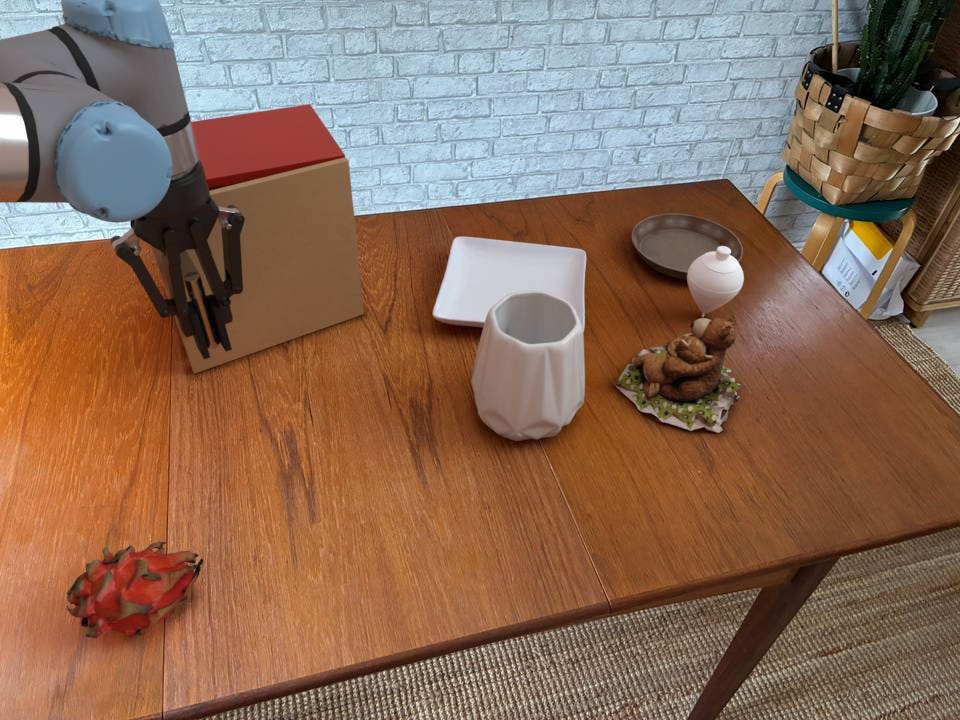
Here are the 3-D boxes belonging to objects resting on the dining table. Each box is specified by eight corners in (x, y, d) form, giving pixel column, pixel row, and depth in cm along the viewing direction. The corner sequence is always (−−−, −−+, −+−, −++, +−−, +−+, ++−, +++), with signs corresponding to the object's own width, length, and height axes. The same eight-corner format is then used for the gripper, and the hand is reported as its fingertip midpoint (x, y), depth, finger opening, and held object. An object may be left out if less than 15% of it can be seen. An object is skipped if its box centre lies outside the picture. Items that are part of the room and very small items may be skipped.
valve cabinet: (361, 310, 103) (345, 154, 86) (187, 354, 95) (132, 192, 78) (329, 252, 113) (310, 103, 96) (170, 287, 105) (119, 132, 88)
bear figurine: (642, 340, 100) (660, 270, 91) (747, 381, 94) (776, 311, 86) (603, 399, 91) (619, 327, 83) (716, 447, 86) (745, 376, 77)
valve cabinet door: (384, 339, 98) (372, 183, 82) (209, 404, 88) (155, 241, 71) (361, 310, 102) (345, 156, 86) (192, 369, 92) (137, 208, 76)
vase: (509, 356, 96) (516, 265, 86) (600, 400, 91) (620, 309, 80) (447, 416, 88) (447, 323, 78) (543, 470, 82) (557, 377, 72)
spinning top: (712, 297, 108) (734, 230, 100) (738, 329, 102) (764, 261, 94) (667, 305, 106) (685, 237, 98) (692, 337, 101) (713, 269, 92)
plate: (584, 264, 113) (587, 246, 111) (581, 352, 98) (584, 333, 95) (453, 251, 114) (453, 233, 112) (430, 336, 99) (430, 317, 97)
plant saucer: (621, 225, 122) (624, 210, 120) (722, 228, 122) (727, 213, 120) (638, 287, 109) (641, 271, 107) (751, 290, 109) (757, 274, 107)
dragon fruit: (77, 635, 68) (208, 595, 73) (71, 675, 60) (218, 627, 65) (59, 551, 67) (193, 517, 72) (51, 581, 59) (202, 540, 64)
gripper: (223, 133, 73) (263, 310, 89) (67, 167, 66) (140, 351, 82) (250, 163, 68) (286, 344, 84) (85, 203, 62) (158, 390, 78)
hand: (214, 347), depth 83 cm, fingers closed on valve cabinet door, 2 cm apart
